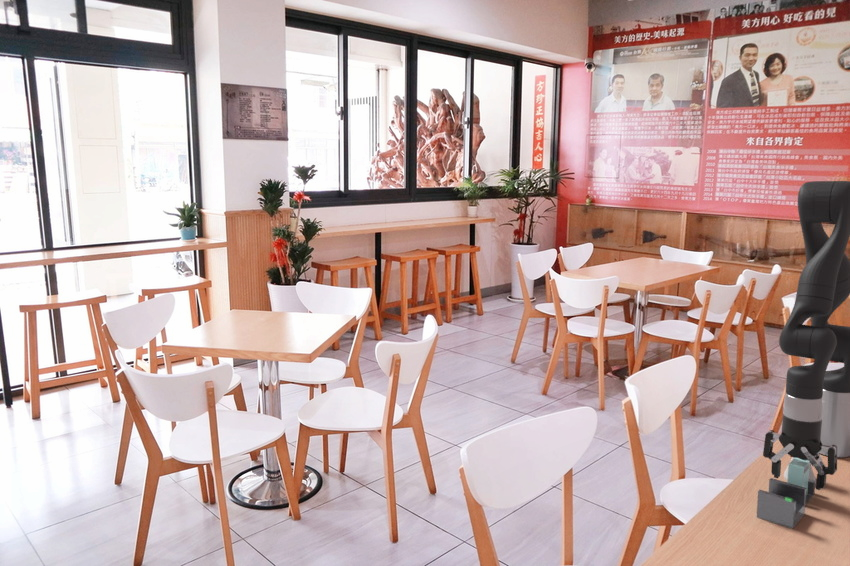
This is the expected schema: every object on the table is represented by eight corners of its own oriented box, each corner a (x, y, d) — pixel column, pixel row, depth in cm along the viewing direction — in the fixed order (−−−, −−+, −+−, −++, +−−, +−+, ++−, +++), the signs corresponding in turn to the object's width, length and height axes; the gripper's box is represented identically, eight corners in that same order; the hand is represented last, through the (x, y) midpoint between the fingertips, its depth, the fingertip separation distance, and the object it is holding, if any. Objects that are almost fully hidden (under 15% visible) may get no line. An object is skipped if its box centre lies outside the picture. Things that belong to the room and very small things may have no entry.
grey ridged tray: (790, 488, 152) (791, 473, 152) (814, 495, 149) (815, 480, 148) (778, 501, 147) (779, 486, 146) (803, 509, 143) (804, 493, 142)
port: (769, 505, 145) (771, 475, 144) (804, 516, 140) (806, 485, 139) (755, 520, 140) (757, 489, 138) (792, 532, 135) (794, 500, 133)
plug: (792, 490, 150) (794, 457, 149) (807, 494, 148) (810, 461, 147) (786, 497, 147) (788, 464, 146) (801, 501, 145) (803, 468, 143)
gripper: (844, 417, 142) (838, 486, 144) (773, 402, 152) (769, 467, 154) (834, 427, 136) (828, 499, 139) (761, 411, 146) (757, 478, 149)
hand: (797, 482), depth 147 cm, fingers open, 8 cm apart
